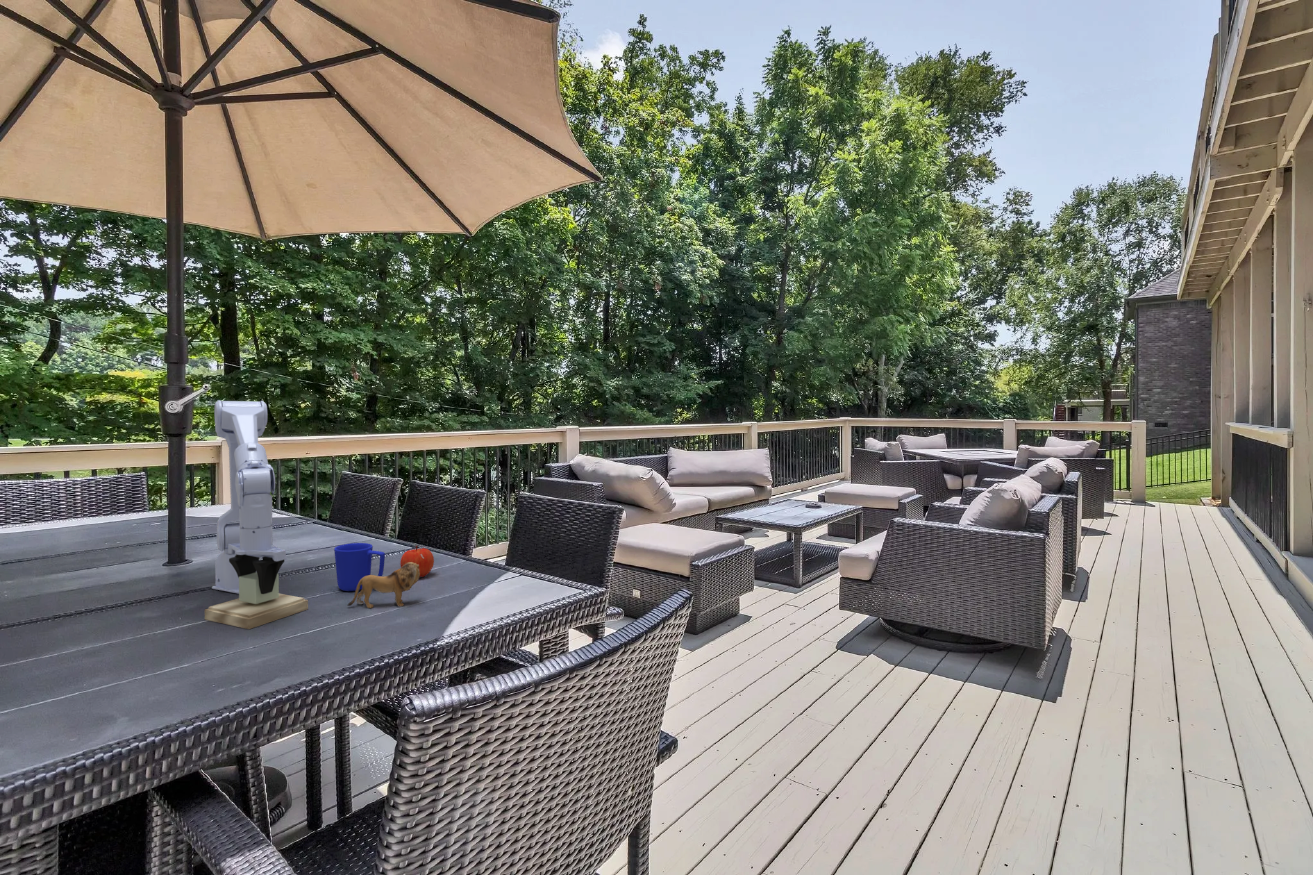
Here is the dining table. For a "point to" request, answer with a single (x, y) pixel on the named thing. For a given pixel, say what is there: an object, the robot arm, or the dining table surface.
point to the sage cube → (255, 589)
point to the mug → (355, 564)
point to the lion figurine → (388, 584)
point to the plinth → (255, 611)
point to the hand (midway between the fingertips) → (257, 591)
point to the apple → (419, 560)
